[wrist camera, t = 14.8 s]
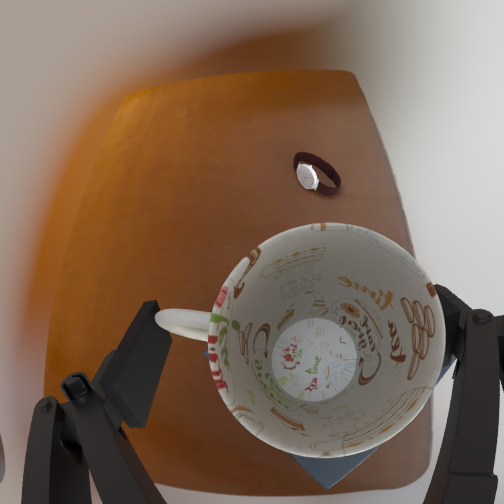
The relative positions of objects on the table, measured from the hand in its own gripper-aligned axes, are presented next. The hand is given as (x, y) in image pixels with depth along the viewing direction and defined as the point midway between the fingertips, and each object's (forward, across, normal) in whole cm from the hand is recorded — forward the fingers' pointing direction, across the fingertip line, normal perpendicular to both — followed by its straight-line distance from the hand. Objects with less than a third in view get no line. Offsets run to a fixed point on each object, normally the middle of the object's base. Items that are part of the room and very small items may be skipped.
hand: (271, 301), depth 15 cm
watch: (+26, +9, +2) cm, 28 cm away
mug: (+2, 0, -5) cm, 5 cm away
